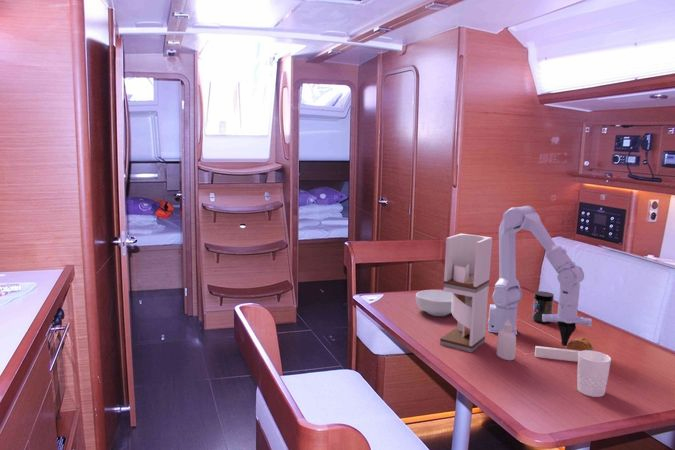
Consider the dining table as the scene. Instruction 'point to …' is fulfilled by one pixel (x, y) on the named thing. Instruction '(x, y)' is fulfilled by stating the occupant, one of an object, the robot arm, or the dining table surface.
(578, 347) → the pastry
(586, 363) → the white cup
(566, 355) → the white rectangular bar
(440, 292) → the cereal bowl
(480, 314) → the display case
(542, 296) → the supplement container
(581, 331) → the dining table surface
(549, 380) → the dining table surface
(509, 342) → the eye dropper bottle
